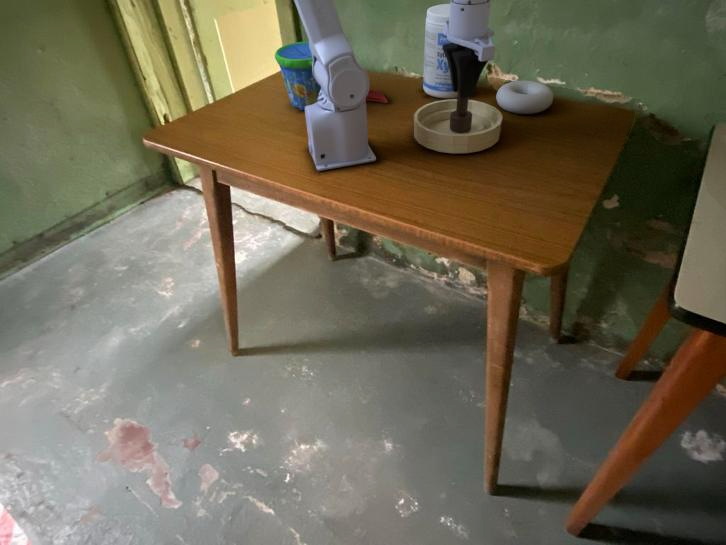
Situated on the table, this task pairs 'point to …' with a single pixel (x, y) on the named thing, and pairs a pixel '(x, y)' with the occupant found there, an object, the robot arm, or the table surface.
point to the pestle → (461, 116)
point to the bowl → (439, 137)
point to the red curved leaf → (375, 96)
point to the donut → (524, 97)
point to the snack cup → (298, 74)
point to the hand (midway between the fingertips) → (462, 93)
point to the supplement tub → (437, 54)
